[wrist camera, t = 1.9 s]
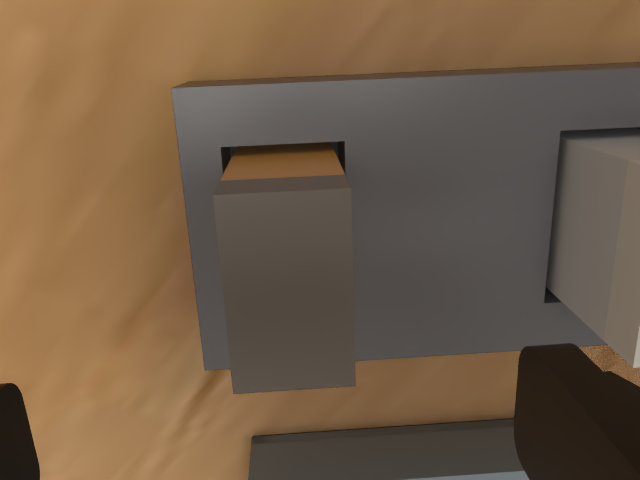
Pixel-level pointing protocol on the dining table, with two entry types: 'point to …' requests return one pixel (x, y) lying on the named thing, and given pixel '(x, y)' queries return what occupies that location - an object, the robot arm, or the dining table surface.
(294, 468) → the parts tray
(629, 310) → the block
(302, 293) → the block
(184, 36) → the dining table surface
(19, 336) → the dining table surface
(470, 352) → the fuse holder
